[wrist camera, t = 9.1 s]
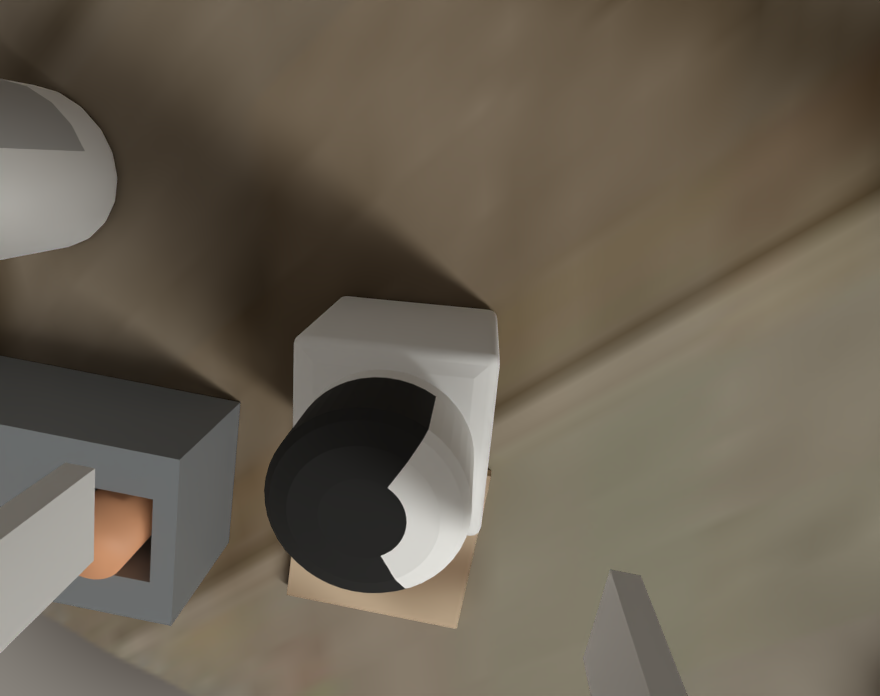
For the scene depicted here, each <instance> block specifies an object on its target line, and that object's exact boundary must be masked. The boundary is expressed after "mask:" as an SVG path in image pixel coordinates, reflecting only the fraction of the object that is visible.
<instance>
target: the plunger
mask: <svg viewBox="0 0 880 696" xmlns="http://www.w3.org/2000/svg"><path fill="white" fill-rule="evenodd" d="M152 512H153V499H148V498H143V497H138V496H133V495H128V494H123V493H118V492H113V491H108V490H103V489H97V490H96V491H95V508H94V561H93V562H92V563H91V564H90V565H89V566H88V567H87V568H86V569H85V570H84V571H83V572H82V573H81V574H80V575H79V576H81V577H84V578H88V579H105V578H108V577H111V576H113V575H115V574H116V573H117V572H118V571H119V570H120V569H121V568H122V567H123V566H124V565H125V564H126V562H127V561H128V560H129V559H130V558H131V557H132V556H133V555H134V554H135V553H136V552H137V550H138V549H139V548H140V547H141V546H142V545H143V544H144V543H145V542H146V541H147V540H148V538H149V537H150V536H151V535H152Z"/></svg>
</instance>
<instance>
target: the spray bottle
mask: <svg viewBox="0 0 880 696" xmlns="http://www.w3.org/2000/svg"><path fill="white" fill-rule="evenodd" d="M117 179H118V177H117V172H116V167H115V162H114V157H113V152H112V150H111V148H110V146H109V144H108V142H107V140H106V138H105V136H104V134H103V132H102V130H101V129H100V128H99V127H98V125H97V124H96V123H95V122H94V121H93V120H92V119H91V117H90V116H89V115H88V114H87V113H86V112H85V111H84V109H83V108H82V107H80V106H79V105H77V104H76V103H74V102H73V101H71V100H70V99H68V98H67V97H65V96H64V95H62V94H61V93H59V92H57V91H53V90H50V89H46V88H43V87H39V86H36V85H31V84H26V83H21V82H15V81H10V80H4V79H0V260H2V259H8V258H13V257H18V256H24V255H29V254H34V253H39V252H45V251H50V250H55V249H61V248H66V247H70V246H72V245H75V244H77V243H80V242H82V241H84V240H87V239H89V238H90V237H91V236H92V235H93V234H94V233H95V232H96V231H97V230H98V229H99V228H100V227H101V226H102V225H103V224H104V223H105V222H106V220H107V218H108V216H109V214H110V211H111V209H112V207H113V205H114V203H115V198H116V189H117Z"/></svg>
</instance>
